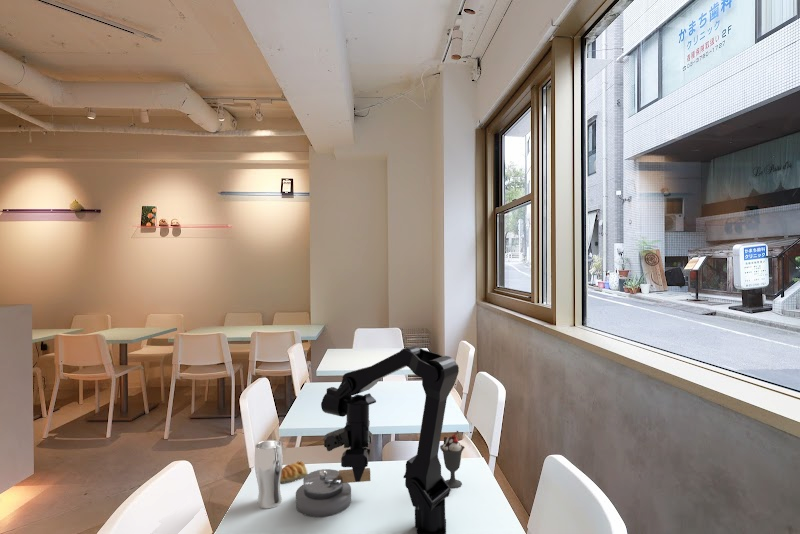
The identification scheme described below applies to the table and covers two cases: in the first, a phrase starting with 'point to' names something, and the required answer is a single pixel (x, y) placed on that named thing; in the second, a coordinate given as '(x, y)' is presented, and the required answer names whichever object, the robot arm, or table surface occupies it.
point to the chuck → (329, 482)
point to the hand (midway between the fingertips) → (357, 481)
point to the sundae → (452, 458)
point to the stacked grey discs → (323, 503)
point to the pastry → (293, 472)
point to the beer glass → (268, 472)
